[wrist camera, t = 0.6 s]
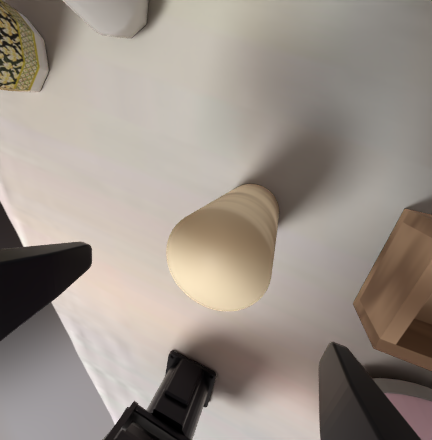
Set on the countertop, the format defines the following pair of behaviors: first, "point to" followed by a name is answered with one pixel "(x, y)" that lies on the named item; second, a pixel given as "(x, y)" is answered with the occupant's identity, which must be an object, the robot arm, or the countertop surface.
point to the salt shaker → (112, 15)
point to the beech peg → (226, 249)
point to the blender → (410, 403)
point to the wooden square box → (401, 292)
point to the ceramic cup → (20, 53)
